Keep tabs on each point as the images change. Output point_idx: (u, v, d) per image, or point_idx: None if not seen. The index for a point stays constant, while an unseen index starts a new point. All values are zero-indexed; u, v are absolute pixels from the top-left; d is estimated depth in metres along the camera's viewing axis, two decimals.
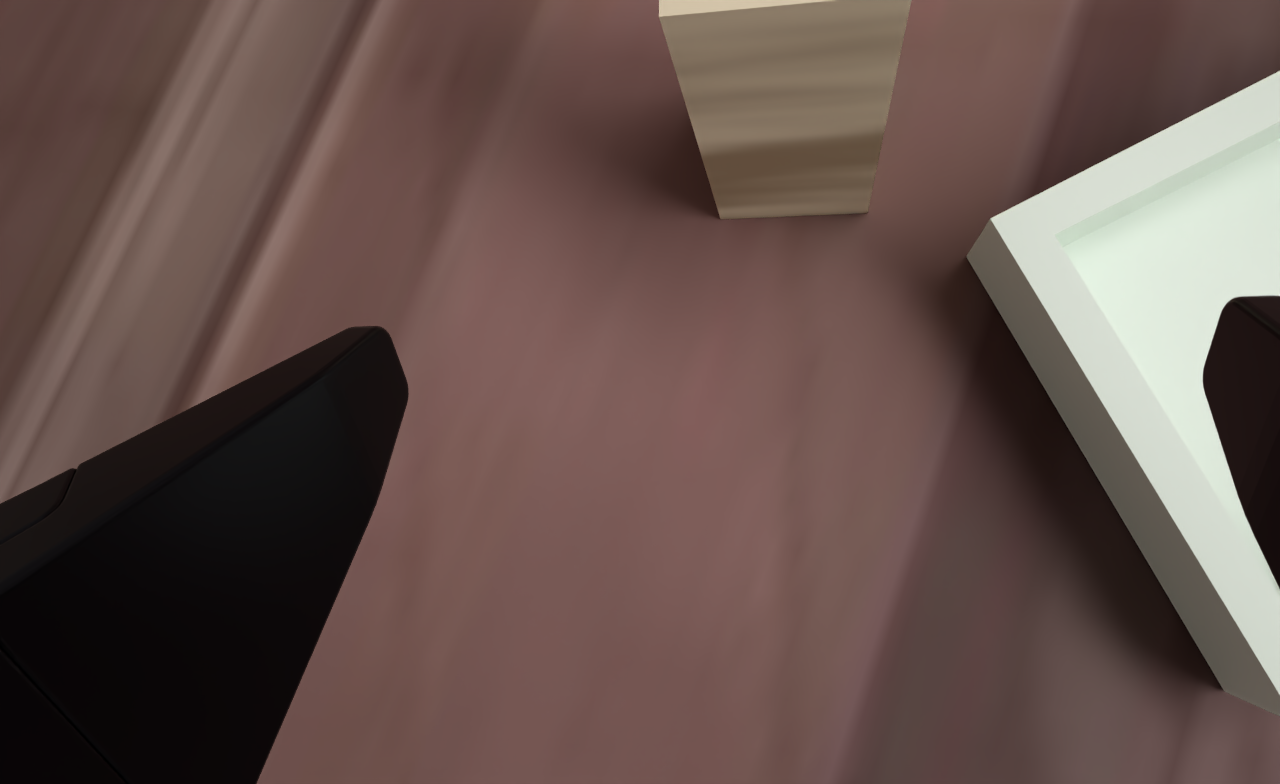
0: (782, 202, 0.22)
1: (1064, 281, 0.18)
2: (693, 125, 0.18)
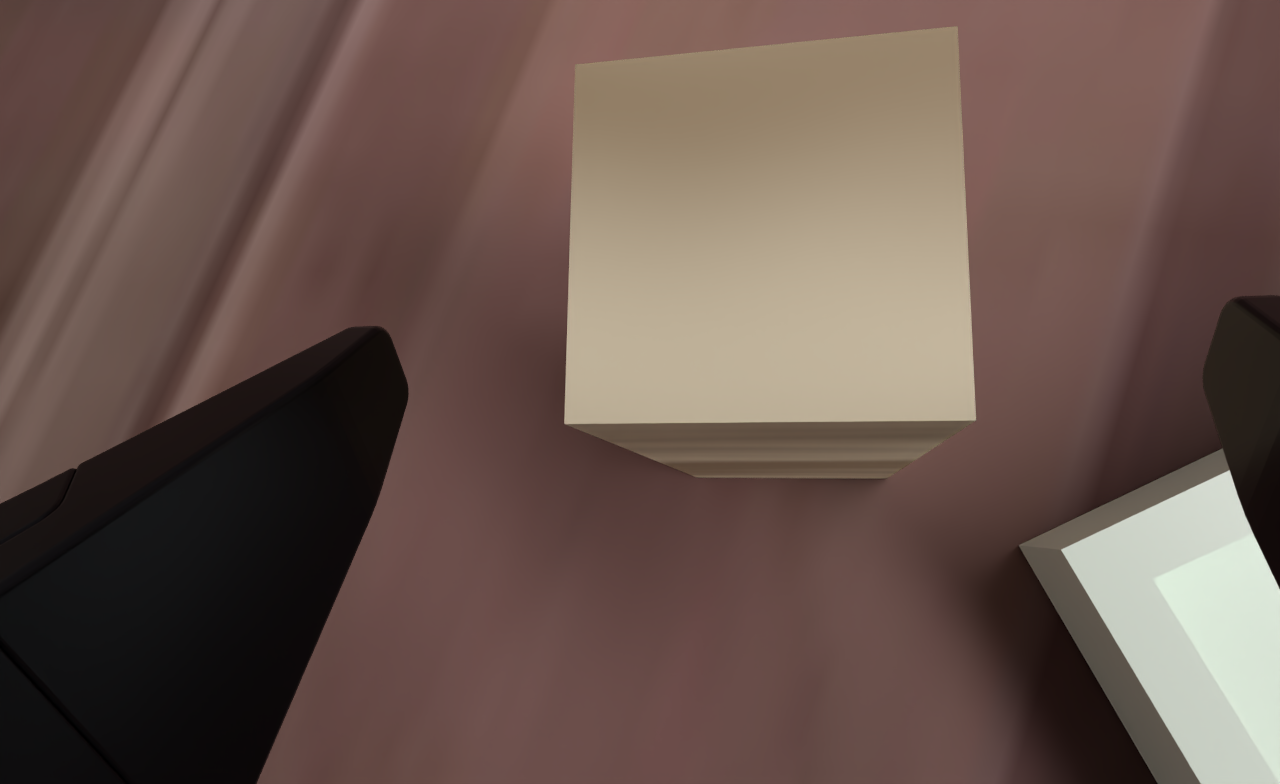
0: (775, 475, 0.17)
1: (1169, 649, 0.13)
2: (645, 456, 0.12)
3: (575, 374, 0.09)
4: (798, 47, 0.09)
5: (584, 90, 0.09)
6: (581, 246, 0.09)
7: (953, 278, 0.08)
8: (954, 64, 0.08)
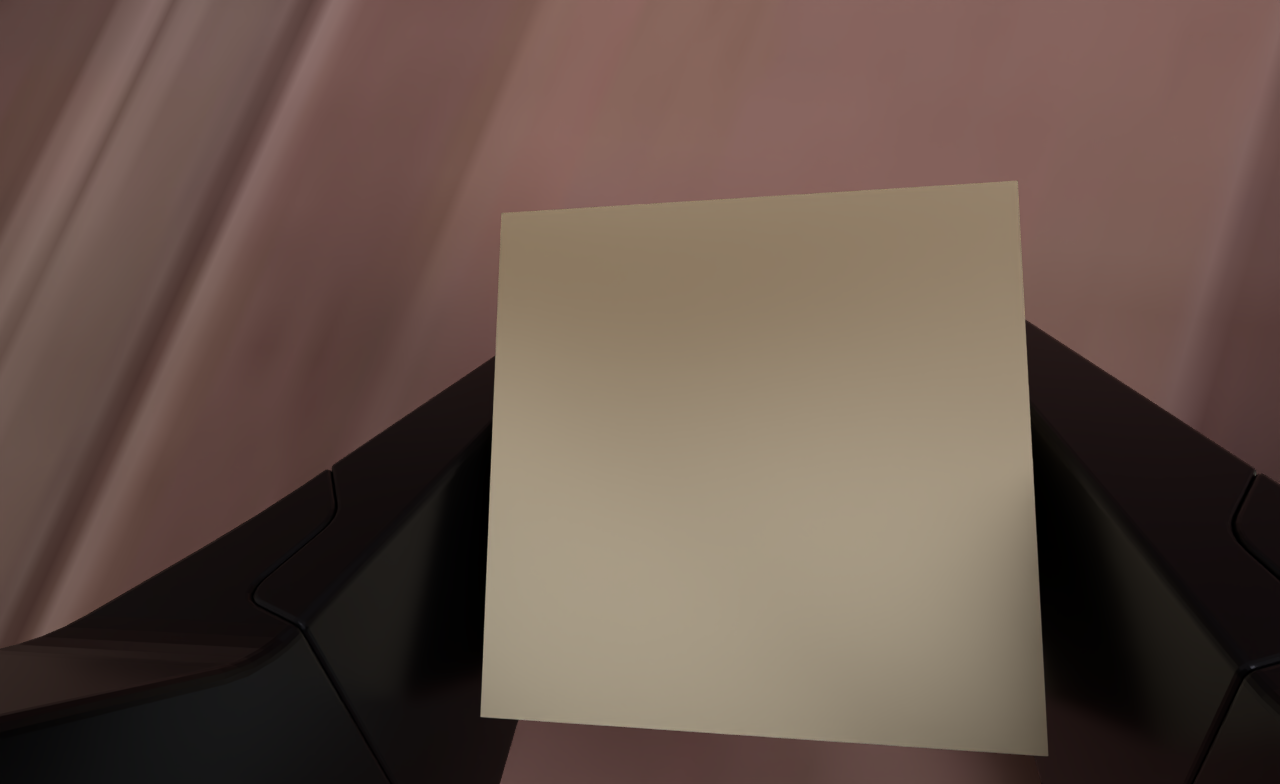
0: None
1: None
2: None
3: (495, 647, 0.06)
4: (798, 200, 0.06)
5: (512, 249, 0.07)
6: (505, 466, 0.07)
7: (1013, 545, 0.06)
8: (1014, 235, 0.06)
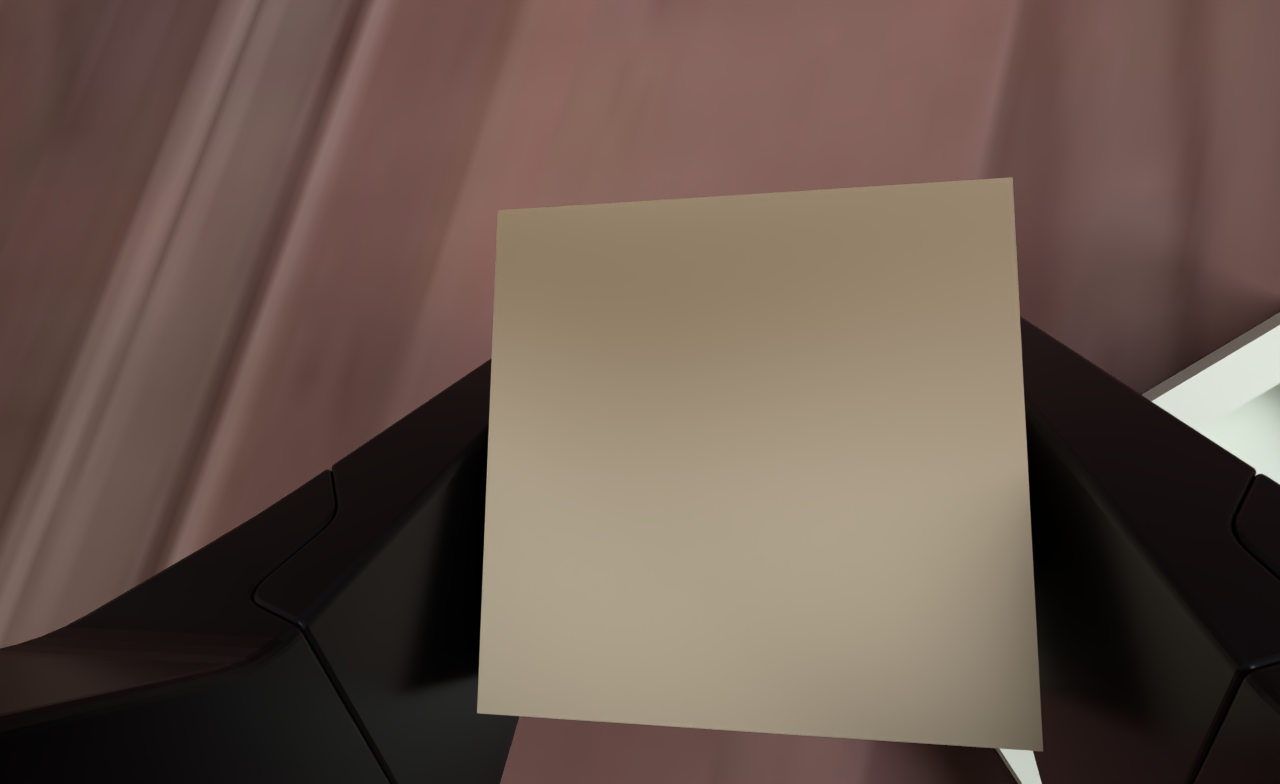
0: None
1: None
2: None
3: (492, 643, 0.06)
4: (794, 198, 0.06)
5: (509, 246, 0.07)
6: (502, 463, 0.07)
7: (1008, 541, 0.06)
8: (1009, 232, 0.06)
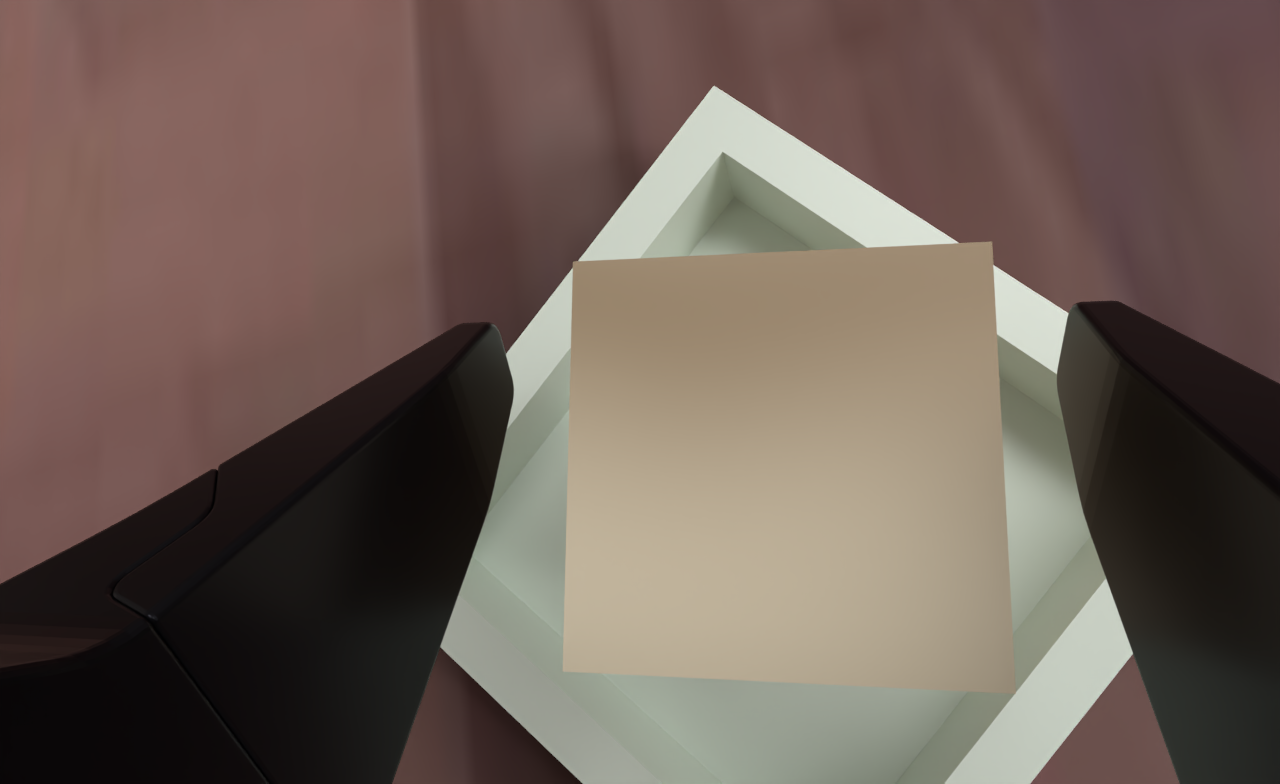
0: None
1: None
2: None
3: (574, 616, 0.08)
4: (817, 256, 0.08)
5: (583, 291, 0.08)
6: (580, 469, 0.08)
7: (989, 529, 0.07)
8: (989, 285, 0.08)
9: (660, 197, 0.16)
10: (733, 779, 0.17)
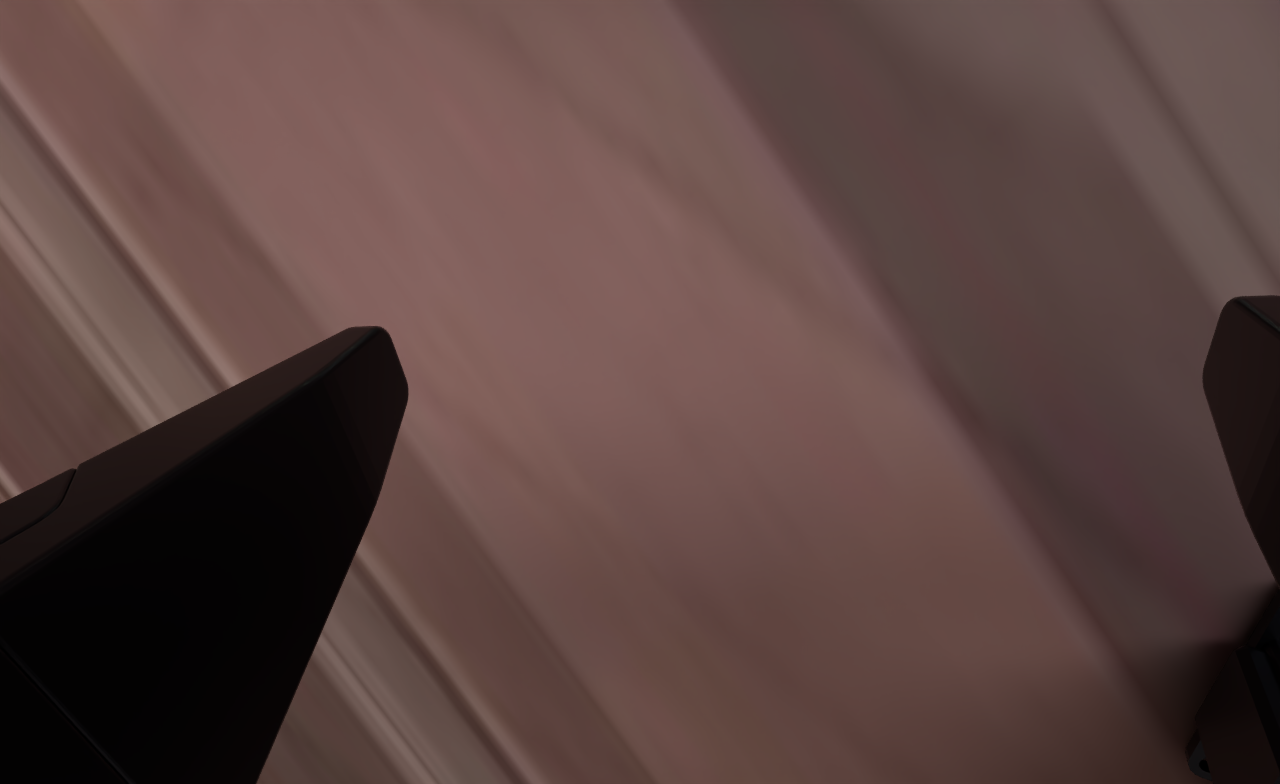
0: None
1: None
2: None
3: None
4: None
5: None
6: None
7: None
8: None
9: None
10: None
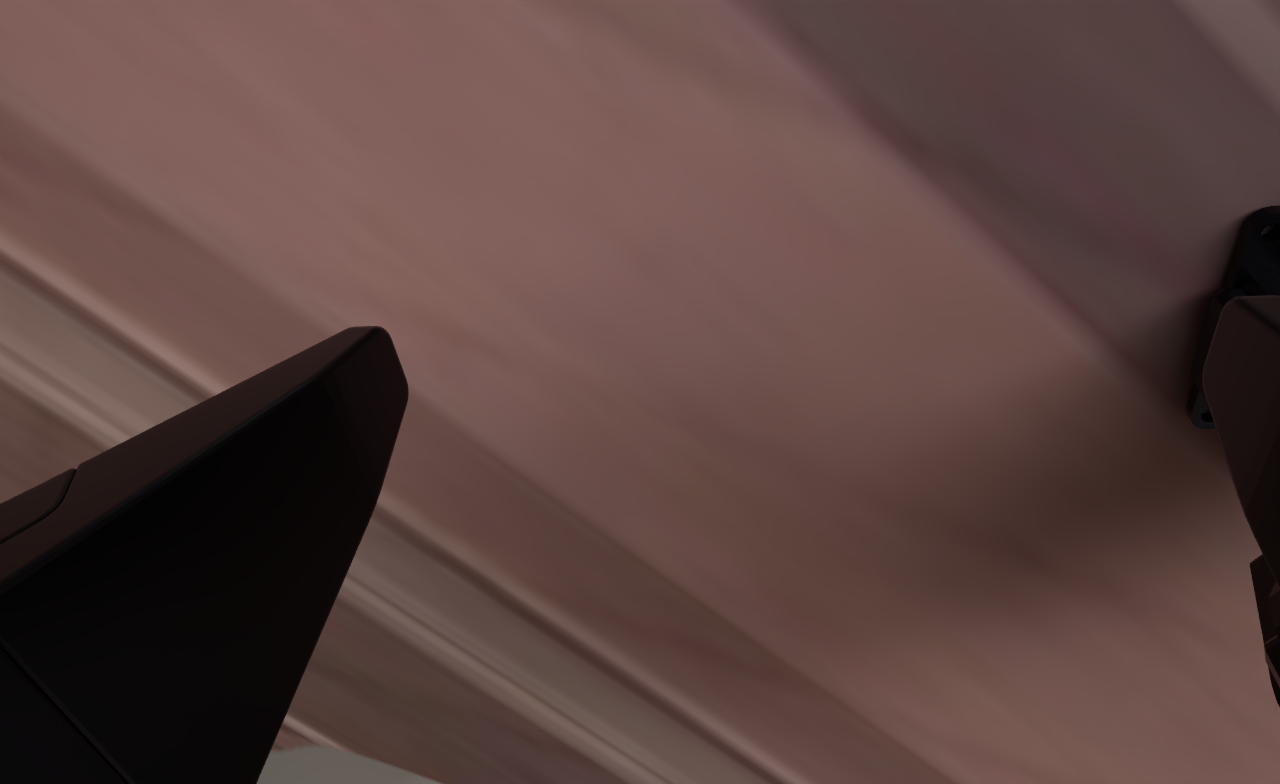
0: None
1: None
2: None
3: None
4: None
5: None
6: None
7: None
8: None
9: None
10: None
